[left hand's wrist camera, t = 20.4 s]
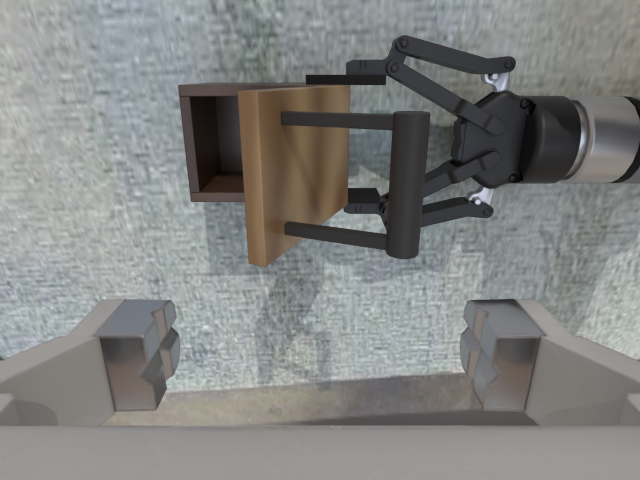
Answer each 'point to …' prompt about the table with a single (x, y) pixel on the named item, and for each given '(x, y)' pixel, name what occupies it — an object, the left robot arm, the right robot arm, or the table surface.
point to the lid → (322, 170)
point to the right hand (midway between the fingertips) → (307, 140)
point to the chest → (216, 138)
